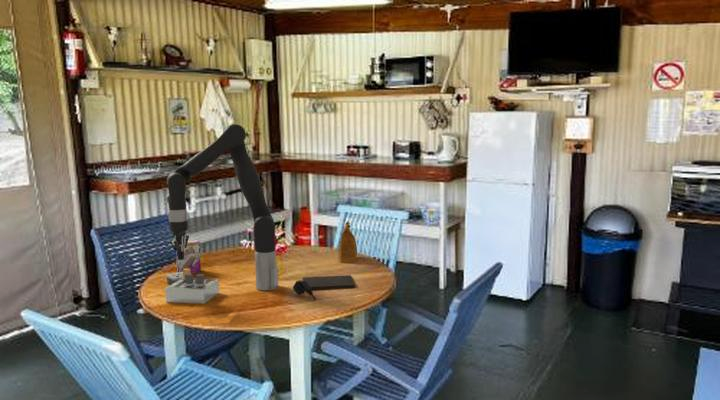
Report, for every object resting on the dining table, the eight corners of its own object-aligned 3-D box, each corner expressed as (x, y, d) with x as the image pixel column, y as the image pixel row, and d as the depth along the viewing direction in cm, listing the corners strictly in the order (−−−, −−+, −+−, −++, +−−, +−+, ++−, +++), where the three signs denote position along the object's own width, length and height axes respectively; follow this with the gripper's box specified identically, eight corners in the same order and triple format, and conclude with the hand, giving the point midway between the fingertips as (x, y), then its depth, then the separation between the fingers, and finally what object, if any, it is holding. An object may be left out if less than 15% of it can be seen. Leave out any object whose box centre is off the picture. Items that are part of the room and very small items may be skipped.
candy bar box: (177, 276, 268) (176, 243, 265) (177, 273, 272) (175, 241, 270) (201, 273, 272) (199, 241, 269) (200, 271, 276) (198, 239, 274)
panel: (219, 292, 240) (218, 279, 240) (204, 303, 226) (203, 289, 225) (182, 291, 243) (182, 278, 242) (166, 302, 228) (165, 287, 227)
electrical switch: (174, 279, 249) (164, 271, 255) (173, 289, 250) (164, 281, 256) (192, 275, 255) (183, 268, 261) (192, 285, 257) (182, 277, 263)
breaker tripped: (192, 277, 241) (191, 268, 240) (188, 280, 237) (187, 270, 236) (185, 277, 241) (185, 267, 241) (181, 280, 237) (180, 270, 237)
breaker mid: (194, 283, 232) (194, 273, 232) (190, 286, 228) (190, 275, 228) (187, 283, 233) (187, 273, 232) (183, 285, 229) (183, 275, 228)
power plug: (311, 299, 226) (295, 278, 231) (303, 311, 230) (288, 290, 235) (320, 296, 231) (304, 275, 236) (313, 307, 235) (297, 287, 239)
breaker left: (206, 283, 231) (205, 273, 231) (201, 286, 228) (201, 276, 227) (198, 283, 232) (198, 273, 231) (194, 286, 228) (194, 276, 227)
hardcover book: (302, 282, 258) (302, 277, 257) (351, 279, 260) (351, 275, 260) (303, 292, 242) (303, 287, 242) (354, 289, 245) (354, 284, 244)
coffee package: (357, 260, 295) (356, 220, 292) (357, 266, 283) (356, 224, 280) (338, 260, 295) (338, 220, 292) (338, 266, 283) (337, 225, 280)
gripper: (179, 222, 224) (182, 263, 226) (193, 217, 237) (196, 255, 239) (162, 222, 225) (165, 263, 227) (177, 217, 238) (180, 255, 240)
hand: (181, 259), depth 233 cm, fingers closed
